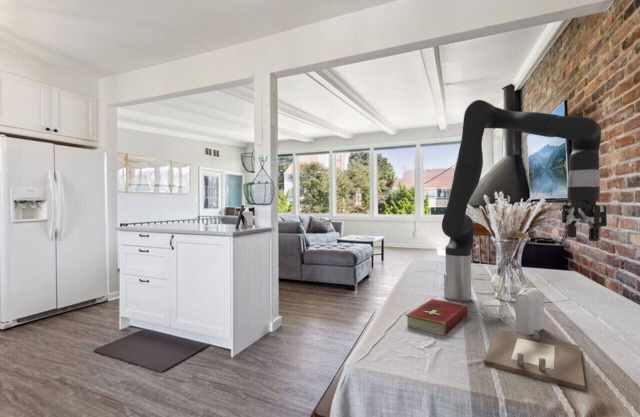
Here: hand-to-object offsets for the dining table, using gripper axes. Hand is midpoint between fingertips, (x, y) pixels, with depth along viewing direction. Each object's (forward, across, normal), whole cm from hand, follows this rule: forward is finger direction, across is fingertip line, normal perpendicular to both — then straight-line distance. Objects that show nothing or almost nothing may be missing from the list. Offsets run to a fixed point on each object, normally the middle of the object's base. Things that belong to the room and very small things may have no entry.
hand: (582, 239), depth 96 cm
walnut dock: (+26, +22, -27) cm, 43 cm away
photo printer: (+26, +6, -18) cm, 33 cm away
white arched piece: (+27, -6, -23) cm, 36 cm away
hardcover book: (+27, -2, -42) cm, 50 cm away
